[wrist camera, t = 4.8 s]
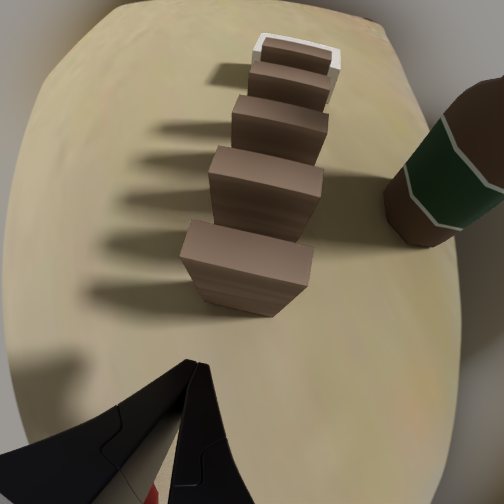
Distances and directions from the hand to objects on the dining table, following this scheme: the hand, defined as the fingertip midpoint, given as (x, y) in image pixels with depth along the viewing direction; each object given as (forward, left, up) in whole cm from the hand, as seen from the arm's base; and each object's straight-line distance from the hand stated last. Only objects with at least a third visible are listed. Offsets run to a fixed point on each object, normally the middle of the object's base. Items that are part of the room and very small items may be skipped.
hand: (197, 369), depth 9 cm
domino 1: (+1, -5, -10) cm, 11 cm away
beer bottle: (-9, -20, -10) cm, 24 cm away
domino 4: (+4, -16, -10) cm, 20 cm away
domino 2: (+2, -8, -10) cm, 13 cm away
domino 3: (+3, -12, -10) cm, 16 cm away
